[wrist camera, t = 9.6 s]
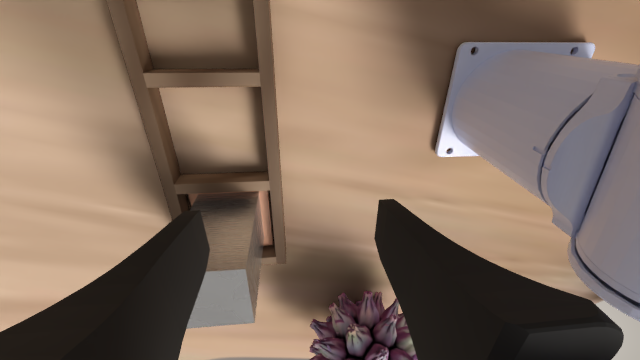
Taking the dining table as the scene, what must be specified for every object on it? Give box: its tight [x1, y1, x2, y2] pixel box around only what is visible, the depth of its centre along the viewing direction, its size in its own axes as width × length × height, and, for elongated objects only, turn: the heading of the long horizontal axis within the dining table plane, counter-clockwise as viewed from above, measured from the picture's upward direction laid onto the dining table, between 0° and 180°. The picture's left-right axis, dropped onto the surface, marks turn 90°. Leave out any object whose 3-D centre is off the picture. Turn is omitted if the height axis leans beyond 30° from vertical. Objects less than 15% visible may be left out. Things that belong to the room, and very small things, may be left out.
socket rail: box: [106, 0, 286, 265], centre depth 19 cm, size 8×23×2 cm, turn 0°
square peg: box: [186, 192, 264, 329], centre depth 20 cm, size 5×5×8 cm
